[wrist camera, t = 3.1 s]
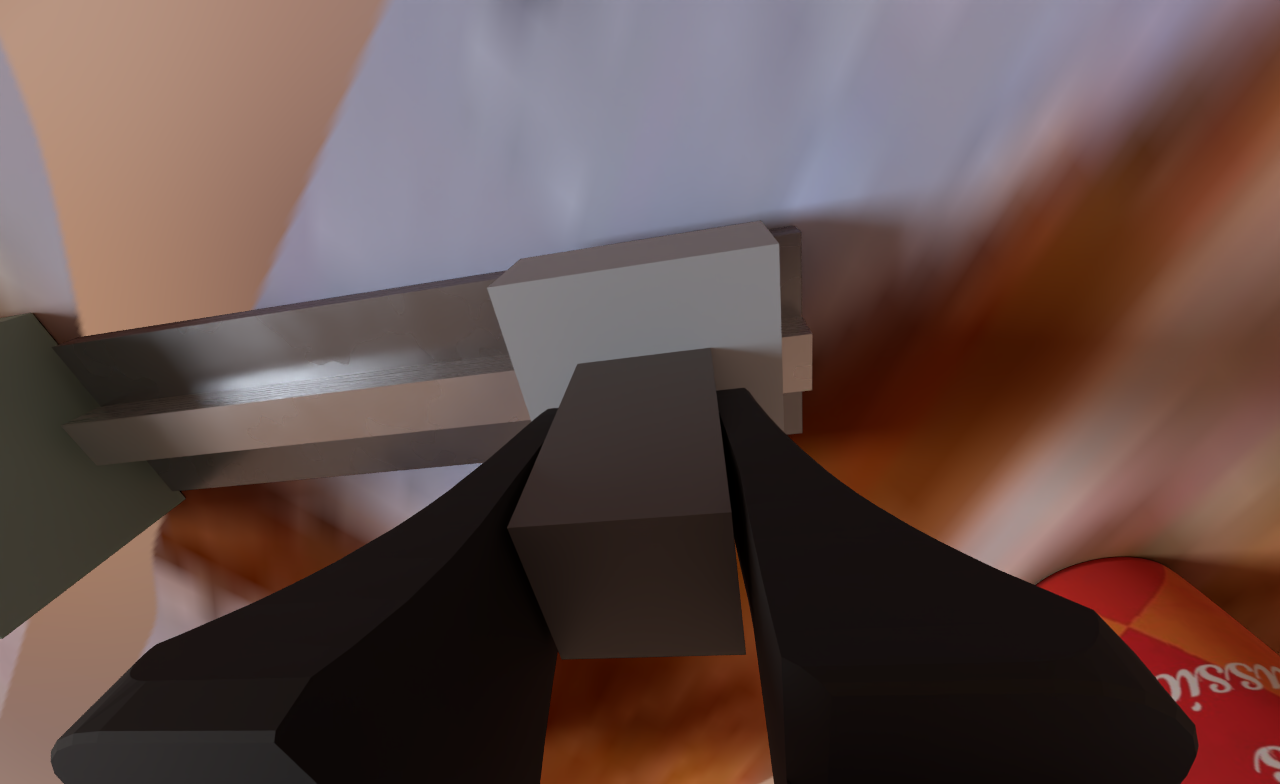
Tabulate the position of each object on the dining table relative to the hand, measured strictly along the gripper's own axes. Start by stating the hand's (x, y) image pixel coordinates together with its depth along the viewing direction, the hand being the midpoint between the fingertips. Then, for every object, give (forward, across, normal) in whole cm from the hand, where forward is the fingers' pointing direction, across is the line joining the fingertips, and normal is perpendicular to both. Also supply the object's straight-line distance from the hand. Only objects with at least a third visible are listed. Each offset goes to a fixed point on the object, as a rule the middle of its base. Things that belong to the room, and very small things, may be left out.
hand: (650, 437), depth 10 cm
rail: (+5, +8, 0) cm, 9 cm away
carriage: (+3, 0, 0) cm, 3 cm away
